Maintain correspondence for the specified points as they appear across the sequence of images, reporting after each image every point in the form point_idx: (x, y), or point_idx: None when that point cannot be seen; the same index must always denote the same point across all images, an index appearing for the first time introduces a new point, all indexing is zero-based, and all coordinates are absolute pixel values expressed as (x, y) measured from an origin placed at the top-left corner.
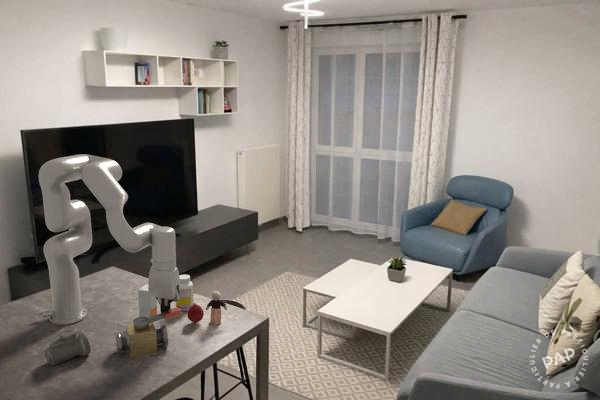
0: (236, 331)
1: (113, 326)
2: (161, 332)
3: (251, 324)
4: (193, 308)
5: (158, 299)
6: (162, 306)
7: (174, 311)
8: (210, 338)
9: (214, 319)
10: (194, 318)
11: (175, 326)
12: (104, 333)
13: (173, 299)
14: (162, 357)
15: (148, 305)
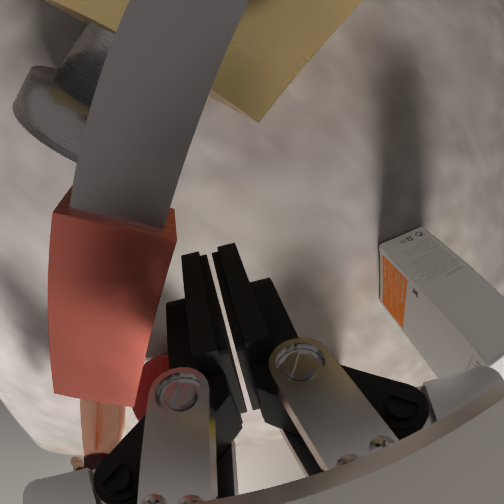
0: (5, 385)
1: (476, 128)
2: (67, 82)
3: (25, 424)
4: None
5: (351, 401)
6: (235, 335)
7: (61, 347)
8: (4, 309)
9: (91, 405)
10: (144, 374)
11: None
12: (473, 63)
13: (82, 502)
14: (23, 20)
15: (434, 297)
